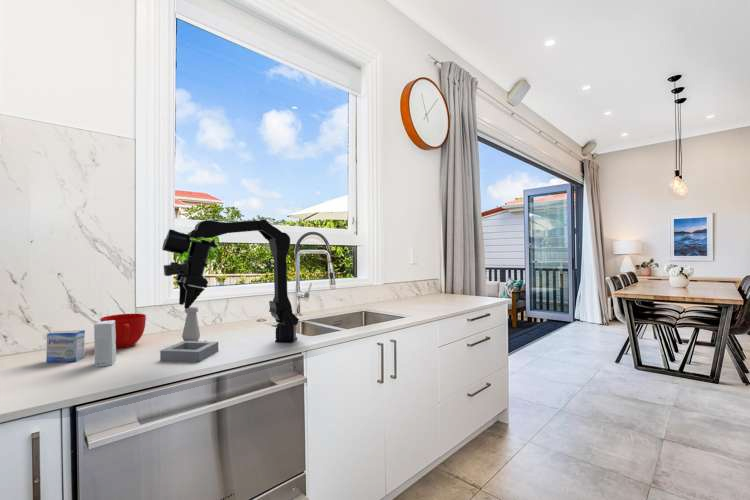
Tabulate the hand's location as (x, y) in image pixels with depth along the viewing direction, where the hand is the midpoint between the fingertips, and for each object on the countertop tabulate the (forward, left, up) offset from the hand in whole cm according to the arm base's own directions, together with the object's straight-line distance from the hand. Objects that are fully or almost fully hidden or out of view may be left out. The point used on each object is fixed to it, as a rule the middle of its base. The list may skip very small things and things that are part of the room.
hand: (183, 306), depth 117 cm
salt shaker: (+7, -16, -16) cm, 23 cm away
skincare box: (+18, +10, -16) cm, 26 cm away
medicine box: (+32, +8, -16) cm, 36 cm away
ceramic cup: (+26, -8, -16) cm, 31 cm away
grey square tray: (-2, 0, -15) cm, 16 cm away
